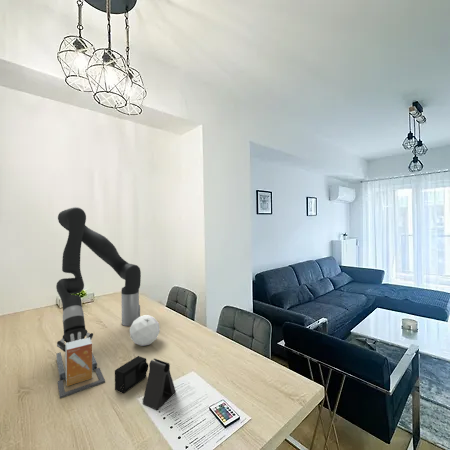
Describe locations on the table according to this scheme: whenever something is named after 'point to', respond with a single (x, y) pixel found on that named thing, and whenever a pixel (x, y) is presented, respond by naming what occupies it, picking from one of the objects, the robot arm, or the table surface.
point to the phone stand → (158, 384)
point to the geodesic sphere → (144, 330)
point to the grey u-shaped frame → (61, 367)
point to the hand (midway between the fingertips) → (77, 362)
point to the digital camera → (130, 374)
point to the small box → (78, 361)
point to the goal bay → (63, 393)
